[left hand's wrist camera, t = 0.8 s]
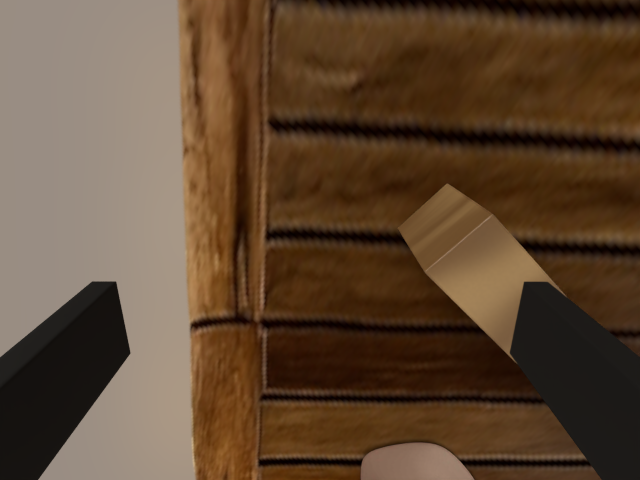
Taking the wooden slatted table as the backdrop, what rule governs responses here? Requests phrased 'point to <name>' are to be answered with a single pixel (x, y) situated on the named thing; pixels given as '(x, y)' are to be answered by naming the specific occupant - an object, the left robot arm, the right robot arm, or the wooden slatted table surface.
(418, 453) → the anatomical model
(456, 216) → the bar
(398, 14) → the wooden slatted table surface
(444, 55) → the wooden slatted table surface
